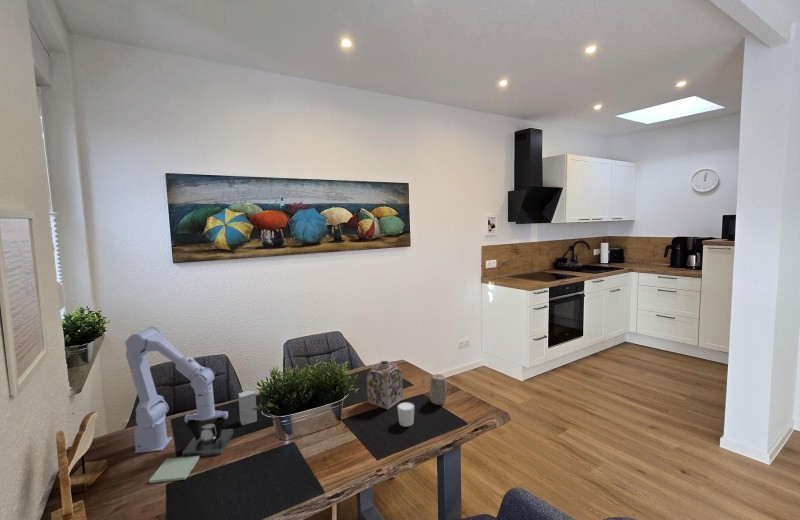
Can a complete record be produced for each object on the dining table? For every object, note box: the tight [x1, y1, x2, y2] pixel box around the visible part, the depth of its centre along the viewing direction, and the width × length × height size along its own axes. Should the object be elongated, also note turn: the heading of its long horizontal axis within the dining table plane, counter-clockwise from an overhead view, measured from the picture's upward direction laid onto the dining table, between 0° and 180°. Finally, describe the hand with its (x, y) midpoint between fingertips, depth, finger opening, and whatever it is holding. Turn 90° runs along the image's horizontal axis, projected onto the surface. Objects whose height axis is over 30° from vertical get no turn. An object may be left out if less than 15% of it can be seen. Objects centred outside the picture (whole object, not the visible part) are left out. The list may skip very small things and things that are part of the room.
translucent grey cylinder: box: [199, 423, 217, 445], centre depth 139 cm, size 5×5×7 cm
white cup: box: [396, 401, 415, 427], centre depth 150 cm, size 7×7×7 cm
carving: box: [429, 373, 447, 406], centre depth 165 cm, size 6×8×12 cm
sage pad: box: [148, 456, 201, 484], centre depth 126 cm, size 11×11×1 cm
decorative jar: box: [366, 360, 404, 410], centre depth 168 cm, size 12×12×18 cm
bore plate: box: [181, 428, 234, 457], centre depth 140 cm, size 13×13×2 cm
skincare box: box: [237, 389, 258, 426], centre depth 155 cm, size 6×4×12 cm
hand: (208, 437), depth 139 cm, fingers open, 7 cm apart
